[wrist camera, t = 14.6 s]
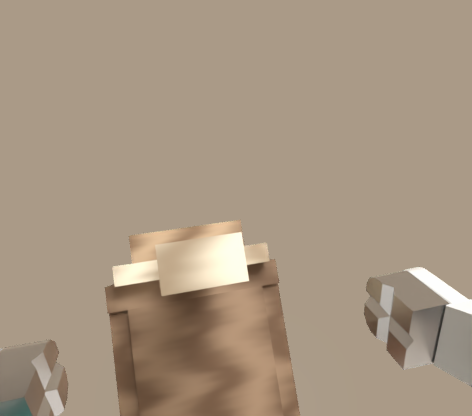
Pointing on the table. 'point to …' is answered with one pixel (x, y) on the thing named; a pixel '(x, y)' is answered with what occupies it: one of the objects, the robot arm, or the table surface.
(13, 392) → the robot arm
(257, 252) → the plywood board
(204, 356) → the walnut shelf
